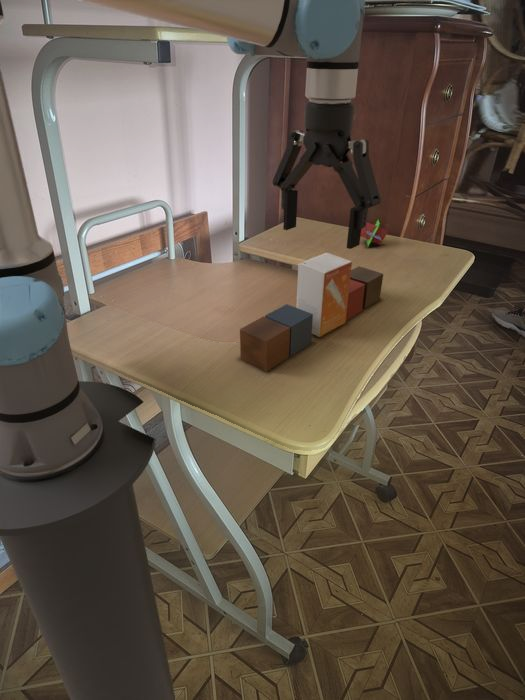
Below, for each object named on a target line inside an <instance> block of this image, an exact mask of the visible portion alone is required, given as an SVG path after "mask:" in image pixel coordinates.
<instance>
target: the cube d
mask: <svg viewBox="0 0 525 700" xmlns="http://www.w3.org/2000/svg"><path fill="white" fill-rule="evenodd" d="M350 279H351V280H354V281H357V282H360V283H363V284H365V289H364V298H363V306H362V310H366V309H367V308H369V307H371V306H372V305H374V304H375V303H377V302H378V301H380V300H381V295H382V288H383V281H384V273H383V272H379V271H377V270H373V269H370V268H367V267H363V266H360V265H358V266H357V267H353V269H351V275H350Z"/></svg>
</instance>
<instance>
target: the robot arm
mask: <svg viewBox="0 0 525 700" xmlns="http://www.w3.org/2000/svg"><path fill="white" fill-rule="evenodd" d="M77 1H78V2H82V3H87V4H90V5H95V6H98V7H103V8H107V9H111V10H115V11H119V12H122V13H127V14H131V15H135V16H139V17H142V18H148V19H151V20H155V21H159V22H163V23H168V24H171V25H176V26H180V27H183V28H188V29H192V30H195V31H200V32H202V33H208V34H212V35H216V36H219V37H220V36H221V37H223V38H226V41H227V44H228V46H229V48H230V50H231V51H232V52H233V53H234V54H237V55H247V56H251V57H254V56H275V57H276V56H277V57H291V58H292V57H293V58H294V57H296V58H297V57H299V58H306V76H305V77H306V79H305V94H304V96H305V97H306V98H307V99H308V101H307V102H305V104H304V117H303V118H304V120H303V126H304V128H305V132H304V130H303V129H298V130H291V131H289V133H288V138H287V145H286V147H285V150H284V152H283V155H282V157H281V160H280V161H279V162H280V163H279V165H278V167H277V169H276V171H275V173H274V176H273V178H272V185H273V186H274V187H278V188H279V189H280V191H281V210H283V227H282V228H283V230H284V231H289V230H291V229H294V228H297V218H298V217H297V215H298V196H299V195H298V194H299V193H298V192H299V190H297V187H296V186H297V185H298V183H299V182H300V181H301V180H302V179H303V178H304V176H305V175H306V174H307V173H308V171H309V170H310V169H311V168H312V166H321V165H322V166H323V167H325V168H333V171H334V172H336V173H337V174H338V176H339V177H340V180H341V181H342V183H343V186H344V187H345V189H346V191H347V194H348V195H349V197H350V199H351V201H352V203H353V205H354V207H351V208H350V211H349V220H348V228H347V229H348V231H347V240H346V249H349V250H351V249H352V250H353V249H354V248H357V247H358V246H360V243H361V229H362V228H364V227H365V226H366V221H367V220H368V212H369V208H373V207H376V206H378V205H381V202H382V199H381V195H380V191H379V188H378V184H377V181H376V177H375V173H374V170H373V166H372V162H371V159H370V155H369V154H370V142H369V140H368V139H367V138H363V139H359V140H353V139H352V137H351V136H352V135H351V132H352V130H353V126H354V117H355V109H356V108H355V107H356V105H355V104H354V102H352V100H354V99H355V98H356V94H357V84H358V77H359V76H358V75H359V62H360V55H361V44H362V37H363V27H364V19H365V15H366V10H365V8H366V7H365V6H366V0H77ZM4 21H5V15H4V11H3V5H2V0H0V26H1V25H2V24H3V22H4ZM303 145H304V147H305V151H304V153H303V154H302V155H301V156H300V158H299V161H298V162H297V164H296V165H295V163H296V161H297V159H298V157H299V154H300V153H301V150H302V147H303ZM349 152H350V155H352V159H353V162H352V160H351V157H350V155H349V154H348V153H349ZM353 163H354V167H355V169H354V167H353ZM355 170H356V171H355ZM36 221H37V220H36V217H35V212H34V208H33V204H32V199H31V195H30V190H29V186H28V182H27V177H26V173H25V168H24V164H23V159H22V155H21V151H20V146H19V142H18V138H17V131H16V128H15V125H14V120H13V116H12V110H11V105H10V101H9V97H8V93H7V89H6V84H5V79H4V75H3V70H2V66H1V65H0V475H1V476H3V477H5V478H7V479H10V480H13V481H19V482H37V481H44V480H49V479H52V478H56V477H59V476H62V475H64V474H67V473H69V472H71V471H73V470H74V469H76V468H78V467H80V466H81V465H83V464H84V463H85V462H87V461H88V460H89V459H90V458H91V457H92V456H93V455H94V454H95V453H96V452H97V450H98V449H99V447H100V445H101V444H102V441H103V438H104V428H103V423H102V419H101V416H100V415H99V413H98V411H97V410H96V408H95V407H94V406H93V404H92V403H91V401H90V400H89V399H88V397H87V396H86V395H85V393H84V392H83V390H82V389H81V388H80V384H79V381H80V380H79V376H78V372H77V369H76V363H75V360H74V356H73V352H72V348H71V347H72V346H71V343H70V337H69V331H68V323H67V316H66V308H65V306H66V305H65V287H64V283H63V279H62V276H61V275H60V273H59V269H58V265H57V260H56V255H55V250H54V246H53V244H52V242H50V241H49V240H47V239H45V238H44V237H42V236H41V235H40V234H39V230H38V226H37V222H36ZM367 222H368V221H367Z"/></svg>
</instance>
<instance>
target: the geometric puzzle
mask: <svg viewBox="0 0 525 700" xmlns="http://www.w3.org/2000/svg"><path fill="white" fill-rule="evenodd" d="M370 221H372V220H369V221H366V226H365V227H364V228H362V229H361V236H360V241H361V240H362V241H365V242H366V246H367V247H372V245H371V244H372V243H373V245H375V246H381V245H382V243H383V241H384V240H385V238H386V236H387V234H388V232H389V230H388V229H386V228H384V227H385V225H383V224H382V225H381V222H380V219H379V218H378V219H377V220H376V222H375V224H374V223H373V222H370ZM381 226H382V227H381Z"/></svg>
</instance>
